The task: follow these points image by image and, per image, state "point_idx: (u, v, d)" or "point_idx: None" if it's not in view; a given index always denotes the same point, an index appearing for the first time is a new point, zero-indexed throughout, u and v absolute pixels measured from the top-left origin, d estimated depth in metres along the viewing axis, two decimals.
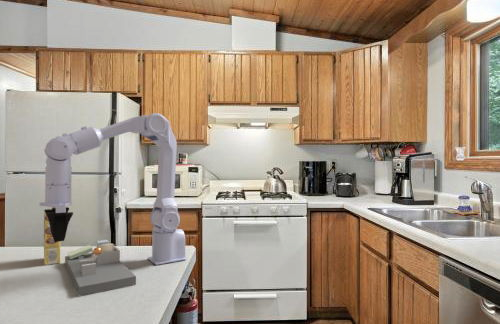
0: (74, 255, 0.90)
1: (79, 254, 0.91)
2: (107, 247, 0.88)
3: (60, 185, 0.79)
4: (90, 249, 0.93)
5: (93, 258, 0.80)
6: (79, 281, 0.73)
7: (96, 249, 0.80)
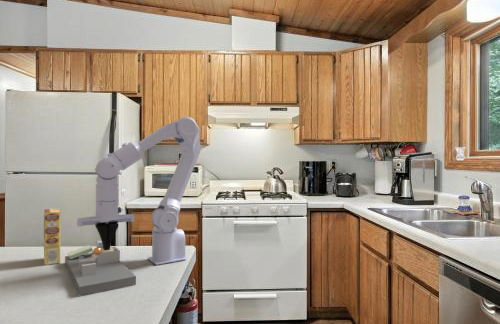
0: (74, 255, 0.90)
1: (79, 254, 0.91)
2: None
3: (96, 201, 0.88)
4: (90, 249, 0.93)
5: (93, 258, 0.80)
6: (79, 281, 0.73)
7: (96, 249, 0.80)
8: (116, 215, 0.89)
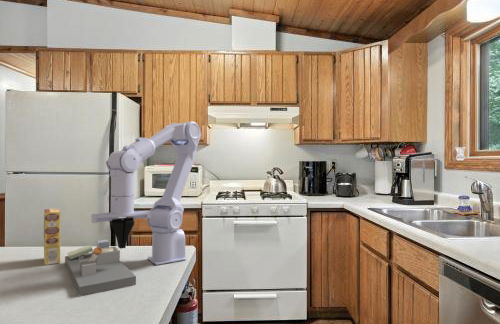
0: (74, 255, 0.90)
1: (79, 254, 0.91)
2: None
3: (111, 196, 0.83)
4: (90, 249, 0.93)
5: (93, 258, 0.80)
6: (79, 281, 0.73)
7: (96, 249, 0.80)
8: (132, 211, 0.84)
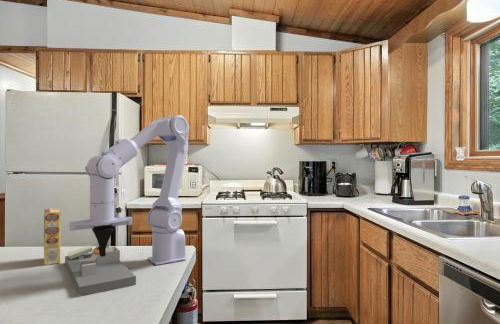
0: (74, 255, 0.90)
1: (79, 254, 0.91)
2: None
3: (90, 203, 0.80)
4: (90, 249, 0.93)
5: (93, 258, 0.80)
6: (79, 281, 0.73)
7: (96, 249, 0.80)
8: (112, 218, 0.81)
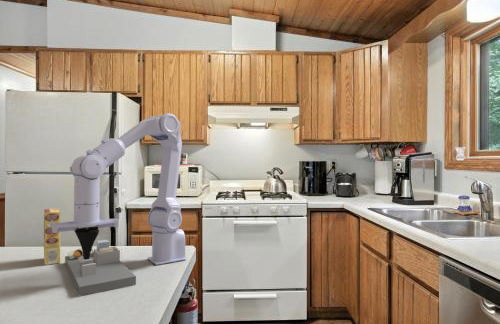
0: None
1: None
2: None
3: (74, 204, 0.78)
4: None
5: (81, 260, 0.78)
6: (79, 281, 0.73)
7: (74, 254, 0.77)
8: (97, 220, 0.79)
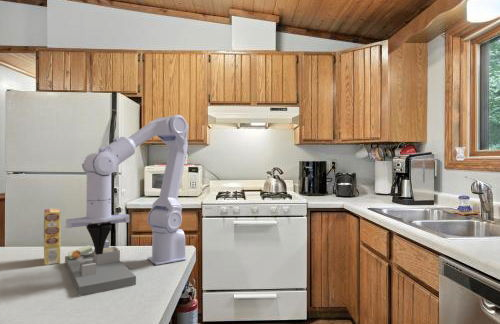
0: None
1: None
2: None
3: None
4: (90, 249, 0.93)
5: (80, 261, 0.78)
6: (79, 281, 0.73)
7: (73, 255, 0.77)
8: (109, 215, 0.81)
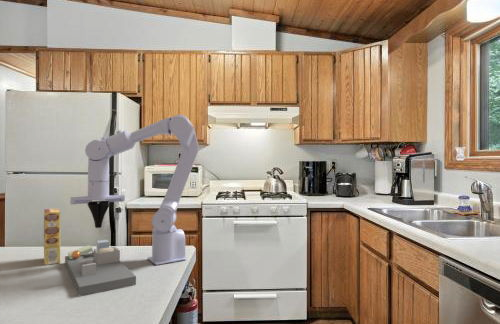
0: None
1: None
2: None
3: None
4: (90, 249, 0.93)
5: (80, 261, 0.78)
6: (79, 281, 0.73)
7: (73, 256, 0.77)
8: (107, 195, 0.95)
